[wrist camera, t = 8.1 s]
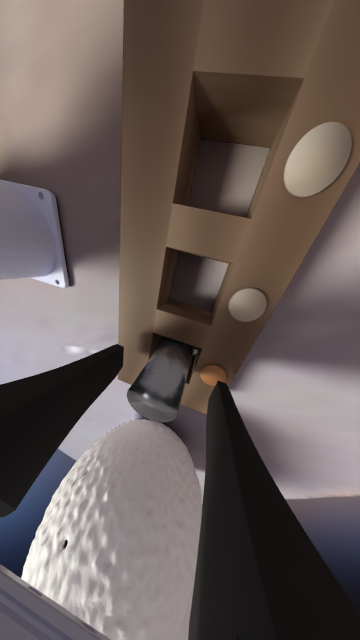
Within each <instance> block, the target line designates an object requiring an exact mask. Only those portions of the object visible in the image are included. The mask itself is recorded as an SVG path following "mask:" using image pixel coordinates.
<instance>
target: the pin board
mask: <svg viewBox="0 0 360 640" xmlns="http://www.w3.org/2000/svg"><path fill="white" fill-rule="evenodd" d="M200 139H207V140H215V141H222V142H230V143H238V144H245V145H253V146H261V147H268V148H270V151H269V154H268V157H267V159H266V162H265V165H264V168H263V171H262V173H261V176H260V179H259V182H258V184H257V187H256V190H255V193H254V196H253V198H252V201H251V204H250V207H249V209H248V212H247V215H246V218H245V217H240V216H234V215H229V214H224V213H219V212H214V211H209V210H204V209H199V208H194V207H189V206H188V201H189V195H190V190H191V185H192V180H193V175H194V170H195V164H196V159H197V154H198V149H199V144H200ZM359 163H360V0H124V30H123V92H122V155H121V217H120V279H119V341H118V345H121V346H124V358H123V367H122V369H121V370H120V372H119V373H118V380H121V381H123V382H126V383H128V384H131V385H132V384H133V383H134V381H135V380H136V378H137V377H138V375H139V374H140V372H141V371H142V369H143V368H144V366H145V365H146V363H147V362H148V361H149V359H150V358H151V356H152V355H153V353H154V352H155V350H156V349H157V347H158V346H159V344H160V343H161V340H162V336H165V337H168V338H171V339H174V340H177V341H180V342H183V343H186V344H189V345H192V346H195V347H198V348H199V349H198V351H197V354H196V357H195V360H194V361H191V362H190V366H189V370H188V374H187V378H186V382H185V387H184V391H183V395H182V399H181V403H180V404H181V405H184V406H186V407H189V408H191V409H194V410H196V411H199V412H201V413H204V414H206V415H207V407H208V399H209V397H210V395H211V393H212V391H213V389H214V387H215V385H216V383H217V381H221V382H224V383H226V384H227V385H228V387H229V385H230V384H231V382H232V380H233V379H234V377H235V375H236V373H237V372H238V370H239V368H240V367H241V365H242V363H243V361H244V360H245V358H246V356H247V355H248V353H249V351H250V349H251V348H252V346H253V344H254V343H255V341H256V339H257V338H258V336H259V334H260V332H261V331H262V329H263V327H264V326H265V324H266V322H267V320H268V319H269V317H270V315H271V314H272V312H273V310H274V308H275V307H276V305H277V303H278V302H279V300H280V298H281V296H282V295H283V293H284V291H285V290H286V288H287V286H288V285H289V283H290V281H291V279H292V278H293V276H294V274H295V273H296V271H297V269H298V267H299V266H300V264H301V262H302V261H303V259H304V257H305V255H306V254H307V252H308V250H309V249H310V247H311V245H312V243H313V242H314V240H315V238H316V237H317V235H318V233H319V232H320V230H321V228H322V226H323V225H324V223H325V221H326V220H327V218H328V216H329V214H330V213H331V211H332V209H333V208H334V206H335V204H336V202H337V201H338V199H339V197H340V196H341V194H342V192H343V190H344V189H345V187H346V185H347V184H348V182H349V180H350V179H351V177H352V175H353V173H354V172H355V170H356V168H357V167H358V165H359ZM179 251H180V252H184V253H188V254H192V255H196V256H200V257H204V258H208V259H212V260H217V261H221V262H225V263H229V265H228V268H227V271H226V273H225V276H224V279H223V282H222V285H221V287H220V290H219V293H218V296H217V298H216V301H215V304H214V307H213V310H212V312H211V311H208V310H205V309H201V308H198V307H194V306H191V305H188V304H184V303H181V302H178V301H174V300H171V299H170V293H171V288H172V283H173V278H174V273H175V268H176V262H177V257H178V252H179Z"/></svg>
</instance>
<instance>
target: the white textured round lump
mask: <svg viewBox="0 0 360 640" xmlns="http://www.w3.org/2000/svg"><path fill="white" fill-rule="evenodd" d="M201 501H202V493H201V487H200V483H199V479H198V477H197V474H196V471H195V468H194V464H193V461H192V459H191V455H190V454H189V452H188V449H187V447H186V446H185V445H184V443H183V442H182V440H181V439H180V437H178V436H177V434H176V433H175V432H173V431H172V430H171V429H170V428H169V427H166V426H165V425H164V424H162V423H159V422H155V421H152V420H146V419H144V420H141V419H138V420H135V421H132V420H130V421H129V422H128V423H124V424H123V425H119V426H118V427H115V428H114V429H112V430H111V431H110V432H107V433H106V434H105V435H103V436H102V437H101V438H100V439H99V440H98V441H96V442H95V443H94V444H93V445H92V446H91V447H90V448H88V450H87V451H86V452H85V453H84V454H83V455H82V456H81V458H80V459H79V460H78V461H77V462H76V463H75V465H74V466H73V467H72V469H71V470H70V471H69V473H68V474H67V476H66V477H65V478H64V479H63V480H62V482H61V484H60V486H59V488H58V489H57V490H56V492H55V494H54V495H53V497H52V501H51V502H50V504H49V506H48V508H47V509H46V513H45V515H44V519H43V521H42V523H41V524H40V525H39V528H38V530H37V531H36V537H35V539H34V540H33V542H32V545H31V547H30V550H29V554H28V557H27V560H26V563H25V565H24V567H23V568H24V570H23V575H22V578H21V579H22V580H24V581H25V582H27V583H28V584H30V585H31V586H33V587H34V588H36V589H37V590H39V591H40V592H41V593H43V594H44V595H46V596H47V597H49V598H50V599H52V600H53V601H55V602H56V603H58V604H59V605H61V606H62V607H64V608H65V609H67V610H68V611H69V612H71V613H72V614H74V615H75V616H77V617H78V618H80V619H81V620H83V621H84V622H86V623H87V624H89V625H90V626H92V627H93V628H94V629H96V630H97V631H99V632H100V633H102V634H103V635H105V636H106V637H108V638H109V639H111V640H188V633H189V620H190V612H191V605H192V597H193V588H194V580H195V572H196V563H197V555H198V545H199V536H200V527H201V517H202V504H201Z"/></svg>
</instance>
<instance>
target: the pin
mask: <svg viewBox="0 0 360 640" xmlns="http://www.w3.org/2000/svg"><path fill="white" fill-rule="evenodd" d="M193 350H194V346H192V345H189V344H186V343H183V342H180V341H177V340H174V339H171V338H168V337H164V339H163V340H162V342H161V343H160V344H159V346H158V347H157V349H156V350H155V352H154V353H153V355H152V356H151V358H150V359H149V361H148V362H147V363H146V365H145V366H144V368H143V369H142V371H141V372H140V374H139V375H138V377H137V378H136V380H135V381H134V383H133V384H132V385H131V387H130V388H129V390H128V392H127V398H128V401H129V403H130V405H131V406H132V407H133V409H134V410H135V411H136V412H138V413H139V414H140V415H142V416H143V417H145V418H147V419H150V420H152V421H156V422H170V421H172V420H174V419H175V418H176V417H177V415H178V411H179V407H180V403H181V399H182V395H183V391H184V387H185V382H186V378H187V374H188V370H189V366H190V362H191V358H192V354H193Z"/></svg>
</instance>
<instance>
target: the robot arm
mask: <svg viewBox="0 0 360 640" xmlns="http://www.w3.org/2000/svg"><path fill="white" fill-rule="evenodd" d="M17 278H33V279H36V280H39V281H42V282H45V283H49V284H52V285H55V286H58V287H61V288H67V287H68V286H69V282H68V275H67V269H66V262H65V256H64V249H63V243H62V236H61V230H60V223H59V217H58V210H57V204H56V198H55V196H54V194H53V193H52V192H51V191H49V190H46V189H43V188H38V187H33V186H29V185H24V184H19V183H14V182H10V181H5V180H0V280H3V279H17ZM123 358H124V346H121V345H118V344H116V345H113V346H111V347H108V348H106V349H104V350H102V351H99V352H97V353H95V354H92V355H90V356H88V357H85V358H83V359H80V360H78V361H75V362H72V363H70V364H67V365H65V366H62V367H59V368H56V369H53V370H50V371H47V372H44V373H41V374H38V375H34V376H31V377H27V378H23V379H20V380H16V381H13V382H9V383H5V384H1V385H0V517H1V518H2V517H5V516H7V515H8V514H10V513H12V512H13V511H15V510H16V508H17V507H18V505H19V504H20V502H21V501H22V499H23V497H24V496H25V495H26V493H27V492H28V490H29V489H30V487H31V486H32V484H33V483H34V481H35V480H36V478H37V477H38V475H39V474H40V472H41V471H42V470H43V468H44V467H45V465H46V464H47V462H48V461H49V460H50V458H51V457H52V455H53V454H54V453H55V451H56V450H57V448H58V447H59V446H60V444H61V443H62V442H63V440H64V439H65V437H66V436H67V435H68V433H69V432H70V431H71V429H72V428H73V427H74V425H75V424H76V423H77V422H78V420H79V419H80V418H81V416H82V415H83V414H84V413H85V411H86V410H87V409H88V408H89V407H90V405H91V404H92V403H93V402H94V401H95V400H96V399H97V398H98V397H99V395H100V394H101V393H102V392H103V391H104V390H105V389H106V388H107V386H108V385H109V384H110V383H111V382H112V381H113V380H114V379H115V377H116V376H117V374H118V373H119V372H120V370H121V369H122V367H123ZM0 640H111V639H109V638H108V637H106V636H105V635H103V634H102V633H100V632H99V631H97V630H96V629H94V628H93V627H92V626H90V625H89V624H87V623H86V622H84V621H83V620H81V619H80V618H78V617H77V616H75V615H74V614H72V613H71V612H69V611H68V610H67V609H65V608H64V607H62V606H61V605H59V604H58V603H56V602H55V601H53V600H52V599H50V598H49V597H47V596H46V595H44V594H43V593H41V592H40V591H39V590H37V589H36V588H34V587H33V586H31V585H30V584H28V583H27V582H25V581H24V580H22V579H21V578H19V577H18V576H16V575H15V574H13V573H12V572H11V571H9V570H8V569H6V568H5V567H3V566H2V565H0ZM188 640H360V613H359V612H358V610H357V609H356V607H355V606H354V605H353V603H352V602H351V600H350V599H349V597H348V596H347V594H346V593H345V591H344V590H343V588H342V587H341V586H340V584H339V583H338V581H337V580H336V578H335V577H334V575H333V574H332V572H331V571H330V569H329V568H328V566H327V565H326V563H325V562H324V560H323V559H322V557H321V556H320V554H319V552H318V551H317V549H316V548H315V546H314V545H313V543H312V542H311V540H310V539H309V537H308V536H307V534H306V533H305V531H304V529H303V528H302V526H301V524H300V523H299V521H298V520H297V518H296V516H295V515H294V513H293V512H292V510H291V508H290V507H289V505H288V504H287V502H286V500H285V499H284V497H283V495H282V494H281V492H280V491H279V489H278V487H277V485H276V484H275V482H274V480H273V478H272V477H271V475H270V473H269V471H268V470H267V468H266V466H265V464H264V462H263V461H262V459H261V457H260V455H259V453H258V451H257V449H256V447H255V446H254V444H253V442H252V439H251V437H250V435H249V433H248V431H247V429H246V427H245V425H244V423H243V421H242V418H241V416H240V414H239V412H238V409H237V407H236V405H235V402H234V400H233V397H232V395H231V392H230V390H229V387H228V385H227V384H226V383H224V382H221V381H217V383H216V385H215V387H214V389H213V391H212V393H211V395H210V397H209V399H208V407H207V424H206V472H205V484H204V496H203V506H202V517H201V527H200V536H199V545H198V555H197V563H196V572H195V580H194V588H193V597H192V605H191V612H190V620H189V633H188Z"/></svg>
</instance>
